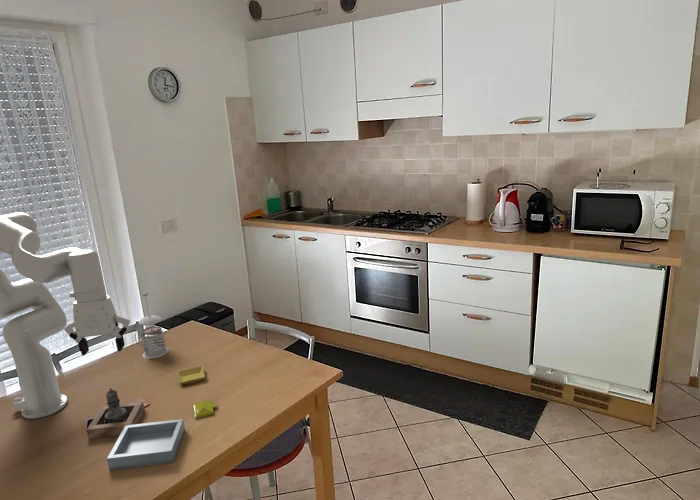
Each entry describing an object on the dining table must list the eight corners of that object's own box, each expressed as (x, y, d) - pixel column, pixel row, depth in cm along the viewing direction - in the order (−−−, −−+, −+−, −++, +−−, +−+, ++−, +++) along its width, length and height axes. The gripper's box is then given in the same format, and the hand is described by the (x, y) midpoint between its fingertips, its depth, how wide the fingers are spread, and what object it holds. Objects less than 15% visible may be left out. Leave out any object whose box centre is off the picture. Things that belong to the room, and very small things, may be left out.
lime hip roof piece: (188, 407, 151) (187, 399, 150) (218, 400, 154) (217, 392, 153) (190, 425, 142) (189, 416, 141) (222, 416, 145) (221, 408, 144)
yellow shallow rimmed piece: (206, 382, 165) (205, 376, 164) (179, 388, 162) (178, 382, 161) (203, 370, 173) (202, 365, 172) (178, 376, 170) (177, 371, 169)
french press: (174, 350, 190) (164, 290, 183) (148, 363, 180) (137, 300, 174) (158, 345, 195) (148, 286, 188) (132, 357, 185) (120, 296, 179)
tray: (109, 470, 124) (106, 458, 123) (127, 436, 137) (125, 425, 136) (173, 462, 125) (171, 450, 124) (185, 429, 139) (183, 418, 138)
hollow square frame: (88, 438, 137) (86, 429, 136) (104, 414, 149) (102, 405, 148) (132, 433, 138) (130, 424, 138) (144, 409, 150) (142, 401, 149)
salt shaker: (120, 430, 140) (112, 394, 137) (102, 429, 141) (94, 392, 138) (132, 418, 146) (125, 383, 143) (115, 417, 147) (108, 382, 144)
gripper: (51, 302, 128) (65, 361, 133) (118, 296, 130) (130, 353, 134) (64, 293, 136) (77, 349, 140) (127, 287, 137) (138, 342, 142)
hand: (103, 351), depth 137 cm, fingers open, 9 cm apart
